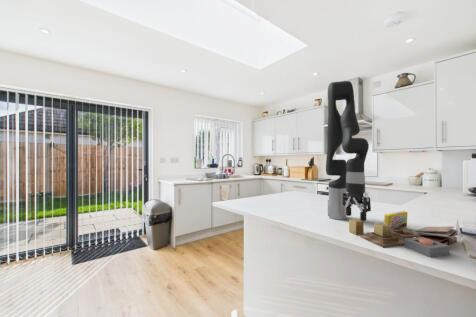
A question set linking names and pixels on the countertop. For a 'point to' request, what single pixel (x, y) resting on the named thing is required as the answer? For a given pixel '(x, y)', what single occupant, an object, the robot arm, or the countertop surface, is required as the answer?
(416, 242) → the button housing
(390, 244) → the pallet
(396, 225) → the candy box
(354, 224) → the block
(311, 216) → the countertop surface
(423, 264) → the countertop surface
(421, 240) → the button
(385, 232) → the block
